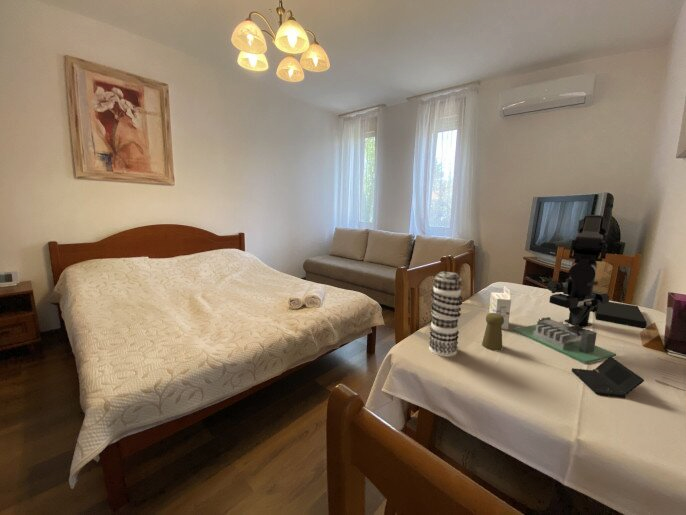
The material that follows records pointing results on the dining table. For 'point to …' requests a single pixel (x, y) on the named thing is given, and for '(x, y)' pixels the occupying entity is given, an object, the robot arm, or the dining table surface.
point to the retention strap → (562, 326)
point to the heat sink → (565, 337)
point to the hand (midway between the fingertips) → (575, 324)
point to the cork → (493, 332)
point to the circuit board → (571, 352)
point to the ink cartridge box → (501, 305)
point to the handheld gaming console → (609, 379)
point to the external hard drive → (620, 314)
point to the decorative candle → (445, 314)
